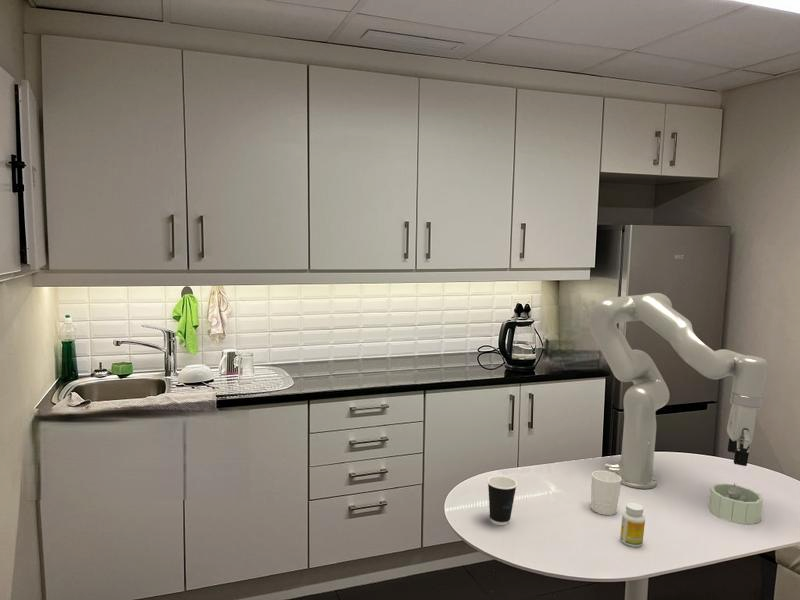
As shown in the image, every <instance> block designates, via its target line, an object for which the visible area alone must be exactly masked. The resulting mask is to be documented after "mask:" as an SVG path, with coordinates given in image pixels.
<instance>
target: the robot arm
mask: <svg viewBox="0 0 800 600" xmlns="http://www.w3.org/2000/svg"><path fill="white" fill-rule="evenodd" d="M638 321H642V322H643V323H644V324H645V325H647V326H648V327H650V328H651V329H652V330H653V331H655V332H656V334H659V335H660V336H661V337H662V338H663V339H664V340H666V342H669V343H670V345H671V346H672V348H673V350H674V351H675V352H676V353H677V354H678V356H679V357H680V358H681V359H682V360H683V361H684V362H685V363H686V364H688V365H689V366H690V367H692V368H693V369H694V370H695V371H697V372H698V373H699V374H700V375H702V376H703V377H706V378H707V379H710V380H721V379H723V378H725V377H731V376H732V377H733V381H732V386H731V387H732V389H731V393H730V399H729V403H730V404H731V408H730V412H729V417H728V421H727V427H726V432H727V435H728V437H729V439H728V445H727V452H729V453H733V454H734V456H733V457H734V458H733V464H734V465H738V466H743V467H747V465H748V460H749V456H750V455H749V454H750V444H751V443H752V442H753V438H754V434H755V433H754V432H755V425H756V419H757V410H761V408H762V404H763V397H764V389H765V384H766V379H767V373H768V361H767V360H766V359H764V358H763V357H760V356H759V357H758V356H755V355H748V354H746V355H745V354H742V353H739V352H736V351H734V350H733V351H732V350H731V349H730V350H729V349H725V348H724V349H718V350H717V349H716V350H713V349H712V348H710V346H708V345H706V344H705V343H704V342H703V340H702V341H701V339H699V337H698V336H697V335H696V334H695V332H694V329H693V325H692V322H691V320H689V319H688V318H687V317H685V316H684V315H682V314H681V313H679V312H678V311H677V310H675V308H673V304H672V301H671V299H670V298H669V297H668V296H667V295H665V294H664V293H660V292H651V293H646V294H637V295H635V294H634V295H624V296H623V295H622V296H612V297H606V298H604V299H601V300H599V301H598V302H596V303H595V304H594V306H593V307H592V308H591V310H590V313H589V317H588V326H589V330H590V332H591V335H592V336H593V338H594V340H595V342H596V344H597V346H598V347H599V349H600V351H601V353H602V355H603V357H604V358H605V359H604V360H605V361H606V362H607V364H608V366H609V368H610V370H611V372H612V374H613V376H614V377H615V378H616V379H617V380H618V381H620V382H621V383H629V382H632V383H633V385H632V386H630V387H629V388H627V390H626V391H625V392H624V396H623V415H624V416H623V417H624V418H623V420H624V421H623V433H622V443H621V444H622V445H621V456H620V461H619V463H613V464H612V463H610V462H605V466H604V468H605V469H606V470H608V472H612V473H615V474H617V475H619V476H620V477H621V485H624V486H626V485H627V487H630V488H635V489H642V490H643V489H644V490H647V489H653V488H655V487H656V486H657V484H658V480H657V479H656V478H655V477H654V476H653V470H654V469H653V468H654V459H655V449H656V446H655V445H656V438H657V437H656V436H657V419H656V418H657V416H656V413H657V411H658V410H659V409H661V408H663V407H665V406H666V405H667V404H668V402H669V401H670V391H669V388H668V386H667V384H666V382H665V380H664V377H663V376H662V374H661V373H660V371H659V369H658V367H657V365H656V364H655V361H654V360H653V358H651V356H650V355H649V354H648V353H647V352H646V351H644V350H642V349H632V348H631V346H630V344H629V342H628V340H627V338H626V337H625V335H624V334H623V332H621V330H620V329H619V328H618V326H617V324H620V323H628V322H638Z"/></svg>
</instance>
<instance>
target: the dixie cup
mask: <svg viewBox="0 0 800 600" xmlns="http://www.w3.org/2000/svg"><path fill="white" fill-rule="evenodd" d="M486 481H487V482H486V483H487V484H488V485H487V487H488V504H489V505H488V506H489V507H488V509H489V518H490V522H491V523H492V524H494V525H496V526H506V525H508V524H509V522H510V520H511V516H512V513H513V505H514V499H515V496H516V495H515V494H516V490H517V486H518V482H517V481H516V480H515V479H514V478H512V477H509V476H505V475H493V476H490V477H488V478H487V479H486Z"/></svg>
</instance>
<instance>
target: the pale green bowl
mask: <svg viewBox="0 0 800 600" xmlns="http://www.w3.org/2000/svg"><path fill="white" fill-rule="evenodd" d="M733 485H734V484H733V483H731V484H730V483H715V484H713V485H711V486H710V489H709V490H710V491H709V501H708V508H709V512H710V513H712V514H713V515H715V516H716V517H718V518H720V519H723V520H726V521H728V522H732V523H736V524H741V525H755V524H758V523H759V522H760V521H761V518H762V510H763V501H764V499H763V498H762V496H761V494H759V493H758V492H756V491H754V490H752V489H751V488H747V487H744V486H740V485H738V484H735V485H736V488H737V487H738V488H739V489H740V491H741V496H744V497H746V501H745V502H743V501H737V500H732V499H729V498H727V497H726V495H728V490H729V489H730V488H731V487H732V486H733Z"/></svg>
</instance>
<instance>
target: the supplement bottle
mask: <svg viewBox="0 0 800 600" xmlns="http://www.w3.org/2000/svg"><path fill="white" fill-rule="evenodd" d="M643 513H644V507H643V506H642V505H641V504H639V503H636V502H628V503H627V504H626V506H625V510H624V512H623V513H622V517H621V524H620V525H621V526H620V537H619V538H620V539H619V540H620V542H621V543H622V544H624V545H625V546H628V547H632V548H640V547H641V546H643V541H644V533H645V525H646V518H645V517H646V516H645V515H644V514H643Z"/></svg>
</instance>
